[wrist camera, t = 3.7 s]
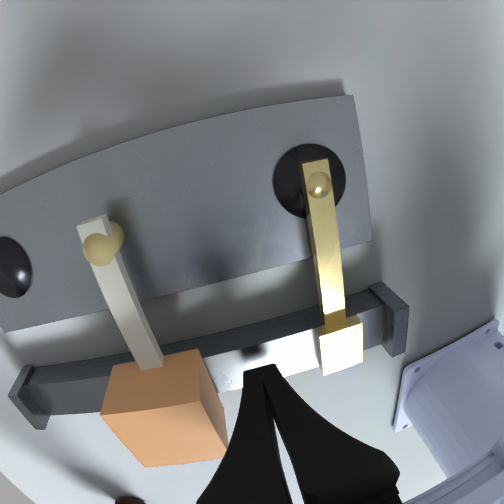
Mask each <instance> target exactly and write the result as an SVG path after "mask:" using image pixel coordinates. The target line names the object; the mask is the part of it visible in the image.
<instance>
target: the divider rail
mask: <svg viewBox="0 0 504 504" xmlns="http://www.w3.org/2000/svg"><path fill="white" fill-rule="evenodd" d="M297 164H298V169H299V175H300V187H301V189H302V192H303V197H304V203H305V209H306V215H307V222H308V228H309V234H310V241H311V248H312V255H313V261H314V269H315V276H316V283H317V291H318V299H319V305H318V306H315V307H312V308H308V309H305V310H302V311H298V312H295V313H291V314H288V315H284V316H281V317H277V318H273V319H270V320H266V321H263V322H259V323H255V324H251V325H247V326H244V327H240V328H236V329H232V330H228V331H224V332H220V333H216V334H212V335H208V336H203V337H199V338H195V339H190V340H186V341H182V342H177V343H173V344H168V345H163V346H159V347H160V349H161V351H162V354H163V356H166V355H170V354H175V353H180V352H184V351H189V350H193V349H199V352H200V354H201V357H202V359H203V361H204V364H205V366H206V369H207V371H208V373H209V376H210V378H211V380H212V383H213V385H214V387H215V390H216V392H217V393H222V392H226V391H231V390H235V389H239V388H243V372H244V371H245V370H249V369H253V368H257V367H261V366H265V365H268V364H272V363H274V364H276V365H277V367H278V369H279V371H280V372H281V374H282V375H283V377H285V376H288V375H292V374H295V373H299V372H302V371H305V370H308V369H312V368H315V367H318V366H319V367H320V369H321V371H322V373H323V375H327V374H330V373H332V372H335V371H338V370H341V369H344V368H347V367H350V366H352V365H355V364H358V363H361V362H363V351H364V350H367V349H369V348H372V347H375V346H377V345H380V344H381V345H382V346H383V347H384V348H385V350H386V351H387V352H388V353H389V355H390V356H391V357H395V356H397V355H399V354H402V353H404V352H405V349H406V340H407V329H408V317H409V306H408V305H407V304H406V303H405V302H404V301H403V300H402V299H401V298H400V297H398V296H397V295H396V294H395V293H394V292H393V291H392V290H391V289H390V288H389V287H387V286H386V285H385V284H384V283H383V282H380V283H377V284H374V285H371V286H369V290H366V291H363V292H360V293H357V294H354V295H350V296H347V297H344V286H343V274H342V263H341V253H340V244H339V235H338V226H337V218H336V210H335V203H334V196H333V189H332V182H331V175H330V169H329V163H328V159H327V158H316V159H311V160H306V161H301V162H297ZM135 361H136V360H135V359H134V357H133V355H132V353H131V352H129V353H124V354H118V355H113V356H107V357H102V358H96V359H90V360H84V361H78V362H72V363H65V364H59V365H52V366H45V367H37V368H34V367H33V365H31V366H24V367H23V368H22V370H21V372H20V374H19V375H18V377H17V379H16V381H15V383H14V385H13V386H12V388H11V390H10V392H9V394H8V397H9V398H10V399H11V401H12V402H13V403H14V404H15V406H16V407H17V408H18V409H19V411H20V412H21V413H22V414H23V415H24V417H25V418H26V419H27V420H28V421H29V422H30V424H31V425H32V426H33V427H34V428H35V429H37V430H45V428H46V425H47V423H48V420H49V417H50V415H64V414H80V413H93V412H101V409H102V405H103V401H104V397H105V393H106V389H107V386H108V382H109V378H110V375H111V371H112V368H113V365H118V364H124V363H130V362H135Z"/></svg>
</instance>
